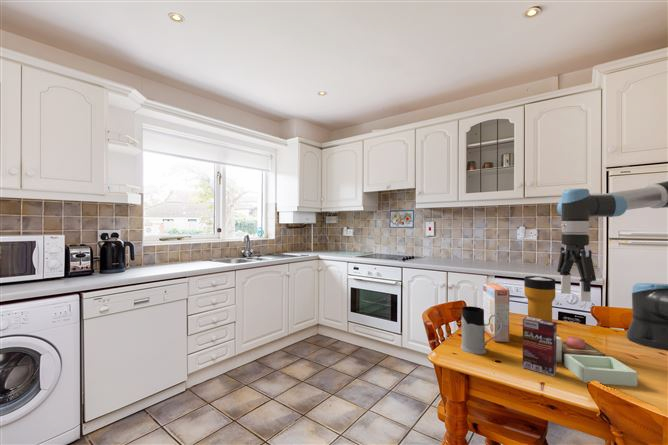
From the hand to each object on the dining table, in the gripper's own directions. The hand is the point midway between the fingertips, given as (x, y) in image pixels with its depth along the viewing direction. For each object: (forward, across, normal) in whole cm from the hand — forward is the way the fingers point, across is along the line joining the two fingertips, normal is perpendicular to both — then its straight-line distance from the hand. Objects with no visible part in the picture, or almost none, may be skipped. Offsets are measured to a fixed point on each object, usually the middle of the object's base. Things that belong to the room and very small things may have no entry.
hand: (574, 297), depth 106 cm
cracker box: (+22, -18, -20) cm, 34 cm away
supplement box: (+22, +11, -16) cm, 29 cm away
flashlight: (+22, -12, -6) cm, 25 cm away
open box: (+21, +1, -10) cm, 24 cm away
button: (+17, 0, 0) cm, 17 cm away
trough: (+21, +12, 0) cm, 25 cm away
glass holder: (+22, -2, -30) cm, 37 cm away
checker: (+21, 0, 0) cm, 21 cm away
